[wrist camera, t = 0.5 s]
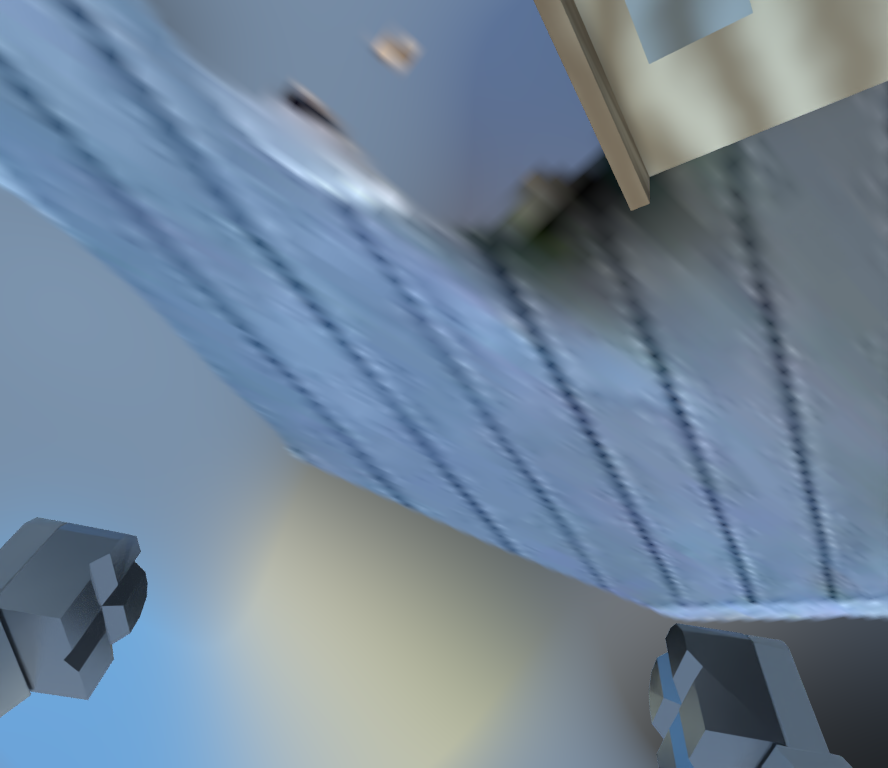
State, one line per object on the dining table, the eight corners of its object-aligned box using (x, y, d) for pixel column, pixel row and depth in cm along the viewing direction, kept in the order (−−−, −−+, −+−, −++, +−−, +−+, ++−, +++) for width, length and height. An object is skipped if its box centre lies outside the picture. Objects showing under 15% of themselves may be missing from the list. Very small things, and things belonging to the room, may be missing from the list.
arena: (869, -299, 33) (894, -295, 30) (917, 61, 44) (939, 93, 41) (522, -68, 43) (512, -46, 40) (631, 177, 55) (631, 210, 51)
